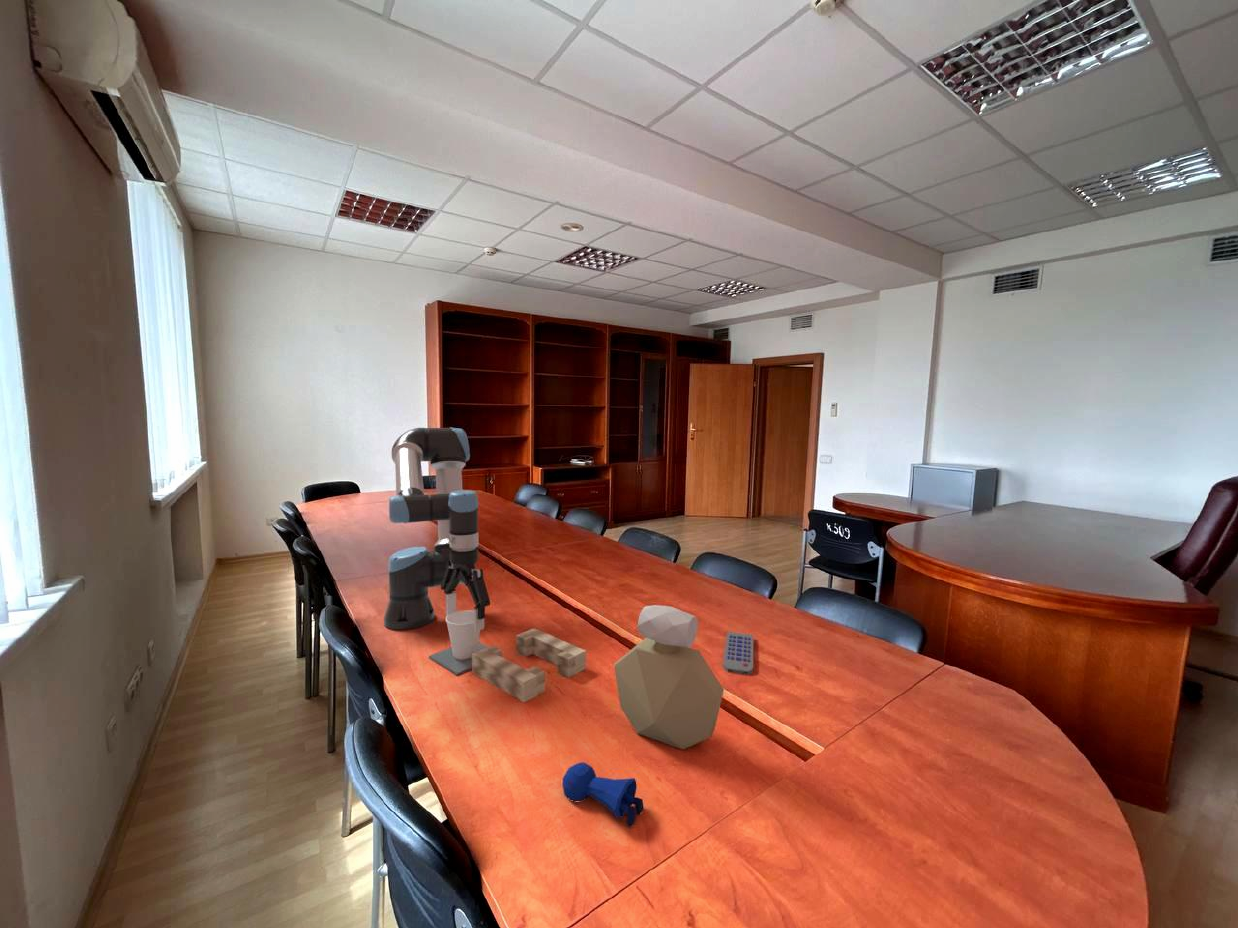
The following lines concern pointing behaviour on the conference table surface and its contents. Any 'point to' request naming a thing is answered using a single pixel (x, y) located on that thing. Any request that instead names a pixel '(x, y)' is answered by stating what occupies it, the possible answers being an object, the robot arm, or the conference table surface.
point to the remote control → (738, 653)
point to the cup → (462, 634)
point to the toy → (603, 791)
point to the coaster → (454, 660)
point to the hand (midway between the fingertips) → (464, 622)
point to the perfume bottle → (668, 680)
